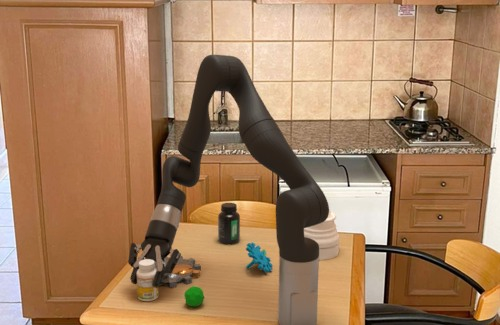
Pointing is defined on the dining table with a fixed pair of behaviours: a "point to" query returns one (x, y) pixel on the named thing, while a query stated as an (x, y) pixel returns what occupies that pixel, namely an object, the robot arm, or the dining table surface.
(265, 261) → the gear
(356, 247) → the dining table surface
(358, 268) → the dining table surface
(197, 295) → the polyhedron
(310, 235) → the honey pot
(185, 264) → the sprocket plate
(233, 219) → the supplement bottle
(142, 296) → the supplement bottle
